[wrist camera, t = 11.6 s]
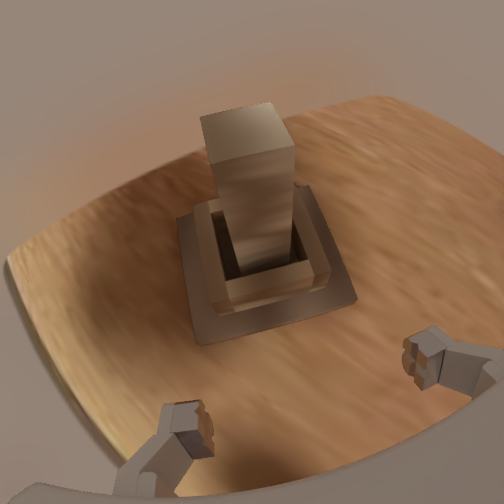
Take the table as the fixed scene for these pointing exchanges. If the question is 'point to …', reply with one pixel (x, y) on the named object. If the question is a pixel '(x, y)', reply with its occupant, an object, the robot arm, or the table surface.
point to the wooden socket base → (259, 274)
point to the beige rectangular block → (253, 182)
